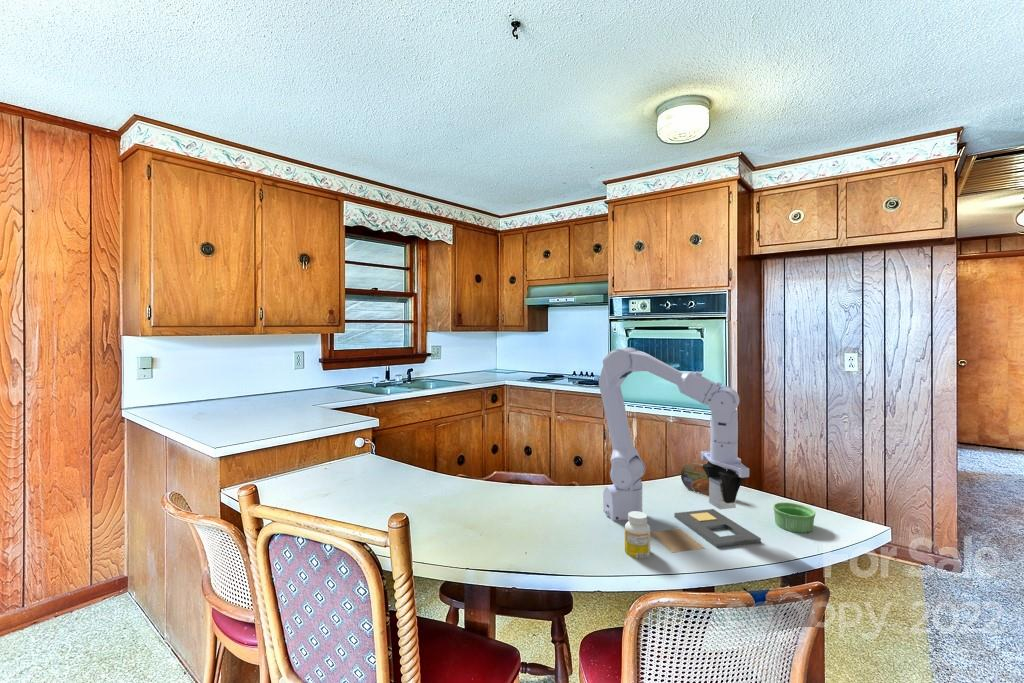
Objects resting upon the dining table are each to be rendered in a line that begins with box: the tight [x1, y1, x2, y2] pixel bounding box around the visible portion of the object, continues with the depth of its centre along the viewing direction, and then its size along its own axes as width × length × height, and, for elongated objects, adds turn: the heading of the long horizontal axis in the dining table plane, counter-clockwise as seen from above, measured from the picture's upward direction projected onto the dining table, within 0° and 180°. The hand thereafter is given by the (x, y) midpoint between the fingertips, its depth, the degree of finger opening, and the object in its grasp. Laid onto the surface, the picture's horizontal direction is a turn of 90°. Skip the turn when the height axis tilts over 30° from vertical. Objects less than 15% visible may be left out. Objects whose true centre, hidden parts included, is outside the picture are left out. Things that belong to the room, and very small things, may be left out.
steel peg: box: [708, 477, 737, 510], centre depth 110 cm, size 4×4×6 cm
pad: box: [650, 528, 706, 553], centre depth 108 cm, size 8×10×2 cm
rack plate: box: [673, 508, 762, 549], centre depth 113 cm, size 11×17×3 cm, turn 12°
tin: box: [680, 462, 727, 496], centre depth 140 cm, size 15×3×8 cm, turn 42°
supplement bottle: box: [624, 511, 651, 559], centre depth 102 cm, size 5×5×10 cm
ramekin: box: [773, 501, 817, 534], centre depth 118 cm, size 9×9×4 cm
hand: (723, 498), depth 110 cm, fingers closed on steel peg, 4 cm apart
